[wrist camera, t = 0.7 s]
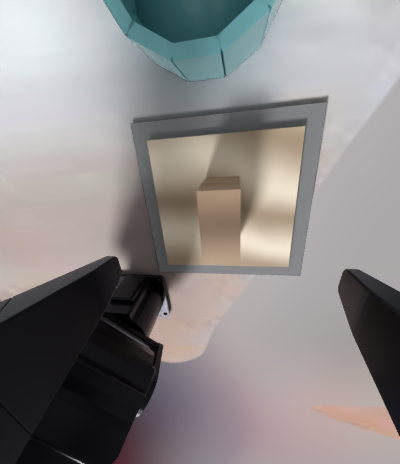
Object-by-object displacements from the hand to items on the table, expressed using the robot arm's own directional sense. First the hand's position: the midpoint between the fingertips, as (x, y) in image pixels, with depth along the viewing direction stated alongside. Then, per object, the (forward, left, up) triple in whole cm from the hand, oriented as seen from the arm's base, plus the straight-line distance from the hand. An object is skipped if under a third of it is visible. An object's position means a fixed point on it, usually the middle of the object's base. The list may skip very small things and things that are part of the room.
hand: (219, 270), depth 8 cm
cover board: (-1, 0, -12) cm, 13 cm away
